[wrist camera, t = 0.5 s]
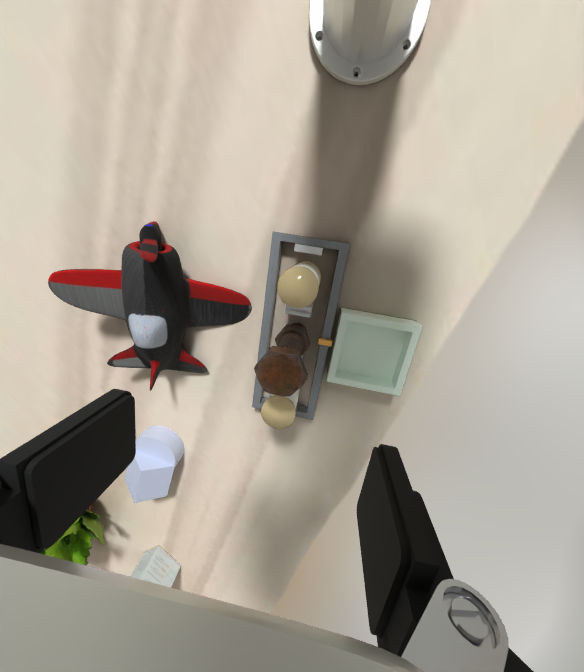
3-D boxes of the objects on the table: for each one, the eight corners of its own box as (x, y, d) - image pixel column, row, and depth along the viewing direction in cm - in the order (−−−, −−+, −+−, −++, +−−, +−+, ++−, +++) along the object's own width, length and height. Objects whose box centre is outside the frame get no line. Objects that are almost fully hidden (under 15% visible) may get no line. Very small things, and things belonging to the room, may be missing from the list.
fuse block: (255, 400, 48) (249, 412, 45) (275, 231, 39) (270, 231, 35) (315, 413, 47) (314, 425, 44) (352, 244, 38) (354, 244, 34)
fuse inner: (292, 258, 39) (280, 263, 30) (323, 263, 39) (321, 270, 30) (287, 290, 41) (275, 304, 32) (318, 295, 41) (314, 311, 31)
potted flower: (11, 493, 66) (-94, 576, 50) (39, 433, 58) (-75, 509, 42) (100, 548, 68) (28, 645, 52) (139, 498, 60) (67, 593, 44)
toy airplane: (93, 336, 50) (39, 397, 38) (58, 194, 37) (-39, 216, 25) (244, 349, 55) (241, 406, 43) (259, 229, 43) (260, 261, 30)
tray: (341, 307, 41) (341, 312, 38) (416, 320, 40) (422, 326, 37) (327, 372, 44) (326, 381, 42) (395, 386, 44) (399, 396, 41)
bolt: (317, 343, 43) (311, 392, 29) (288, 352, 44) (268, 403, 30) (305, 309, 42) (292, 343, 27) (275, 319, 43) (247, 357, 29)
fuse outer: (277, 364, 45) (262, 395, 36) (304, 369, 45) (297, 403, 35) (273, 388, 47) (259, 424, 37) (300, 393, 46) (292, 431, 37)
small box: (144, 551, 66) (111, 605, 57) (159, 544, 65) (128, 598, 55) (166, 572, 68) (139, 628, 58) (182, 565, 66) (156, 622, 56)
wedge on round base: (175, 482, 57) (188, 436, 53) (156, 511, 51) (169, 462, 46) (136, 466, 57) (145, 418, 53) (112, 494, 51) (120, 442, 47)
